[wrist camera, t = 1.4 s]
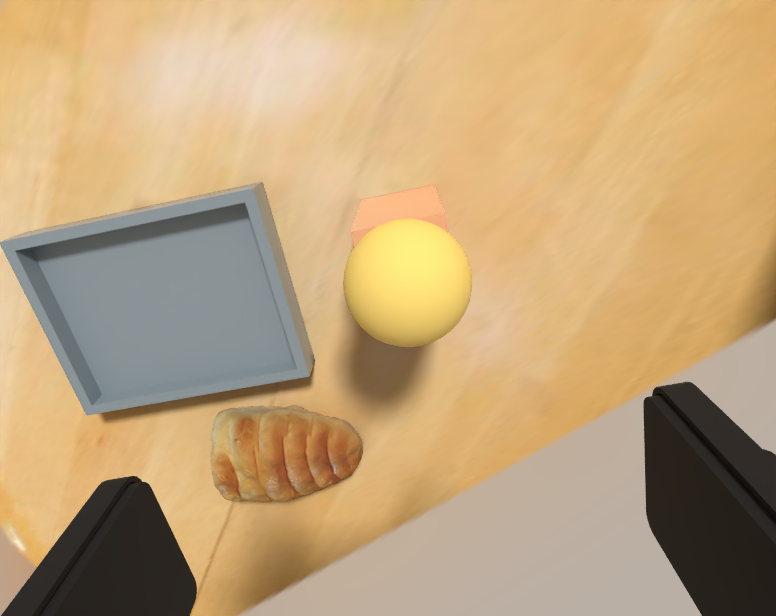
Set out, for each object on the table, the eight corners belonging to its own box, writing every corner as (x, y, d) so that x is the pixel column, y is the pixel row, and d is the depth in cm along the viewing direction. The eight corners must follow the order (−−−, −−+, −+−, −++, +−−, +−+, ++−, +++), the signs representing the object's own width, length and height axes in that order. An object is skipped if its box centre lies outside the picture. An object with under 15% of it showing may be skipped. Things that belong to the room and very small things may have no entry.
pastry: (357, 391, 33) (352, 426, 29) (369, 475, 36) (366, 517, 32) (213, 402, 33) (191, 439, 30) (235, 484, 36) (218, 527, 33)
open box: (434, 184, 28) (445, 212, 21) (446, 255, 29) (460, 301, 23) (361, 200, 28) (350, 231, 22) (376, 268, 30) (371, 317, 23)
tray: (262, 182, 28) (252, 188, 26) (314, 360, 32) (309, 376, 30) (24, 232, 29) (-1, 242, 27) (103, 397, 33) (86, 415, 31)
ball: (454, 195, 21) (469, 223, 17) (471, 305, 23) (489, 357, 19) (337, 219, 22) (321, 253, 17) (363, 325, 24) (355, 380, 19)
